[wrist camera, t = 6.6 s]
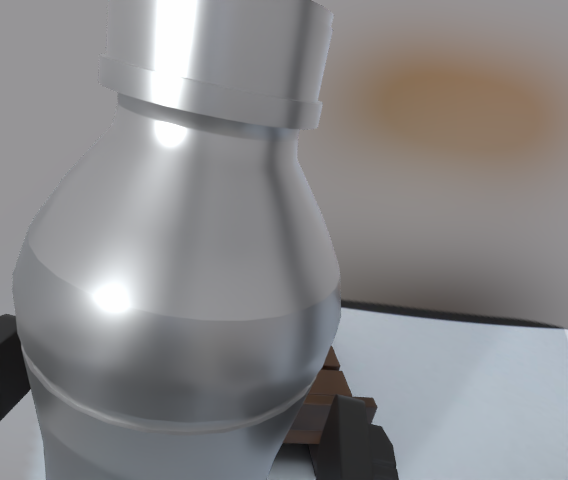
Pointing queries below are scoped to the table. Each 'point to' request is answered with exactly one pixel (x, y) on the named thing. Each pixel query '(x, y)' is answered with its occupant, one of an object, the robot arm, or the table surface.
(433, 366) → the table surface
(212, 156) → the silver metal bottle
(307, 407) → the wooden slatted rack
